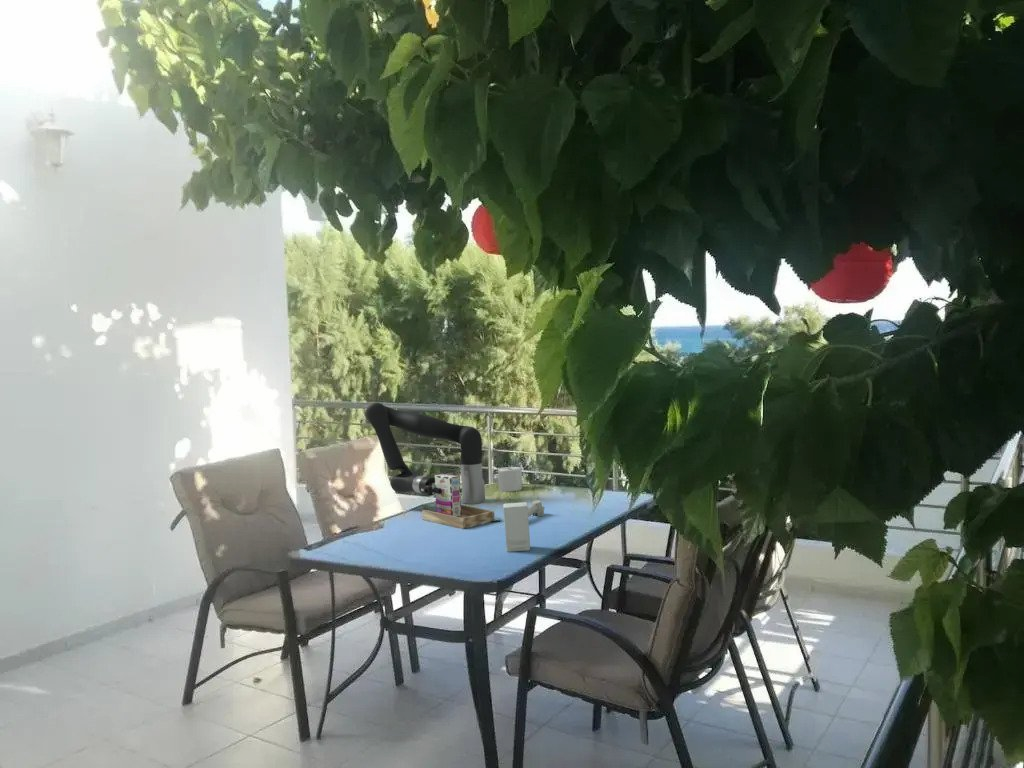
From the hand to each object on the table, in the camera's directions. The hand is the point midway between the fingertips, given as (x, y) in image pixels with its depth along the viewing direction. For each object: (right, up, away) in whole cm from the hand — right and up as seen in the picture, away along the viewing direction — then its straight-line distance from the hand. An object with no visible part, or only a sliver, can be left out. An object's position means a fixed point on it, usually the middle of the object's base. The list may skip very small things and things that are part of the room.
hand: (449, 489), depth 331 cm
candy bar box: (0, -11, +1) cm, 11 cm away
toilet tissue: (+25, -8, +57) cm, 63 cm away
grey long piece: (+31, -12, -8) cm, 34 cm away
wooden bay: (+4, -12, -3) cm, 13 cm away
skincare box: (+27, -14, -50) cm, 59 cm away
